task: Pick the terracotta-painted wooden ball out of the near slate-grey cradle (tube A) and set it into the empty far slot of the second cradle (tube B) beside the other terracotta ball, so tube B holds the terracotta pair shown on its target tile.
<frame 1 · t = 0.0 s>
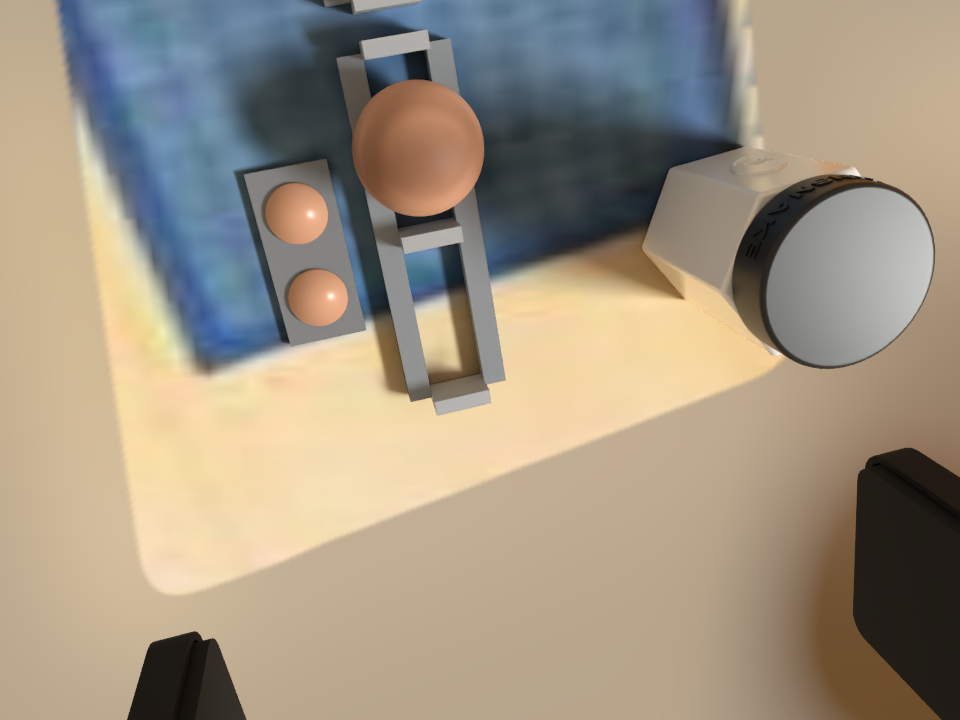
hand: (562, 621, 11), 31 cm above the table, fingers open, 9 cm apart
terracotta ball b: (411, 143, 38), point 1 cm above the table, touching tube stand
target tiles: (255, 45, 35), on the table
tube stand: (387, 23, 36), on the table
jar: (713, 225, 43), on the table
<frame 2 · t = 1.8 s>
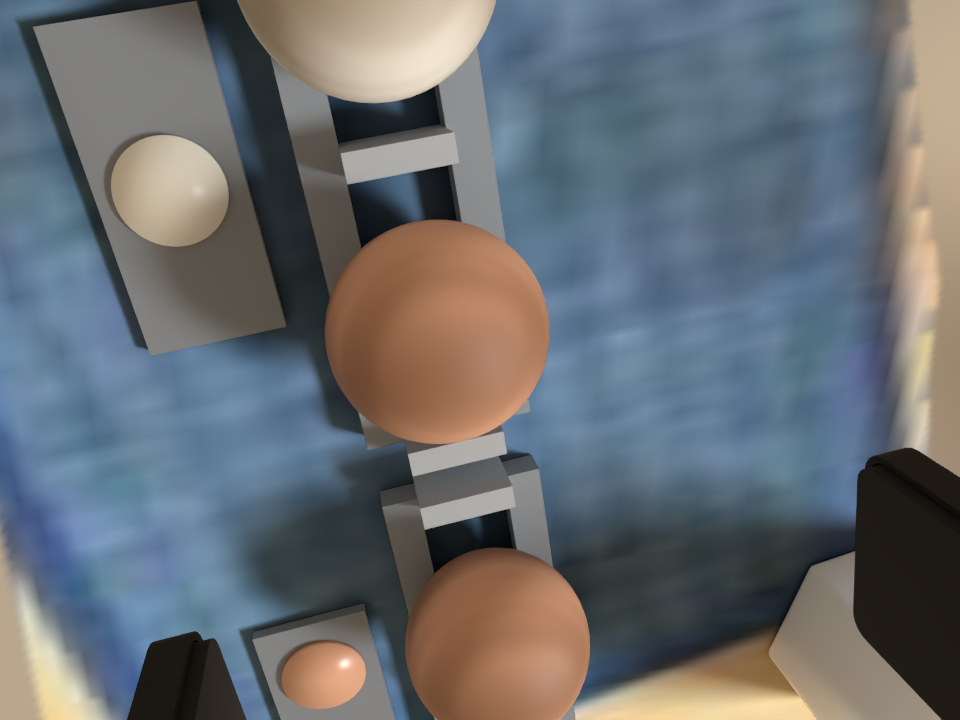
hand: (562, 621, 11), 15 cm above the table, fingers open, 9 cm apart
terracotta ball a: (423, 299, 23), point 1 cm above the table, touching tube stand
terracotta ball b: (479, 583, 28), point 1 cm above the table, touching tube stand
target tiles: (268, 489, 25), on the table
tube stand: (450, 445, 26), on the table
jar: (857, 614, 34), on the table
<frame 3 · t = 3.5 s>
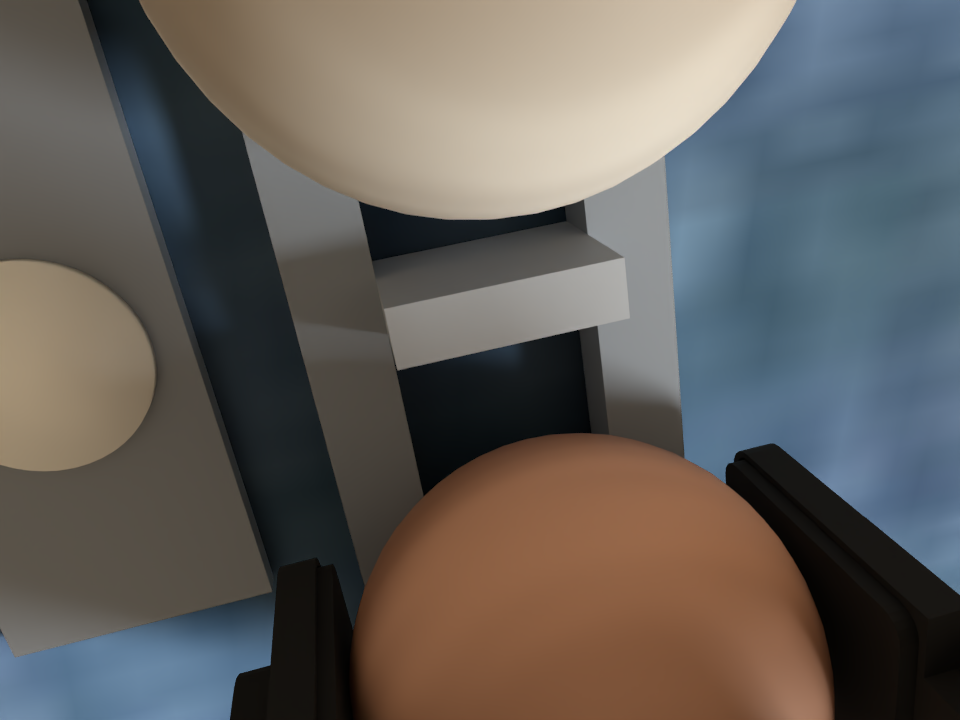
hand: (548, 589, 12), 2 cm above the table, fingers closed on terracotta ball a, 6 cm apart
terracotta ball a: (524, 534, 13), point 1 cm above the table, touching gripper, tube stand
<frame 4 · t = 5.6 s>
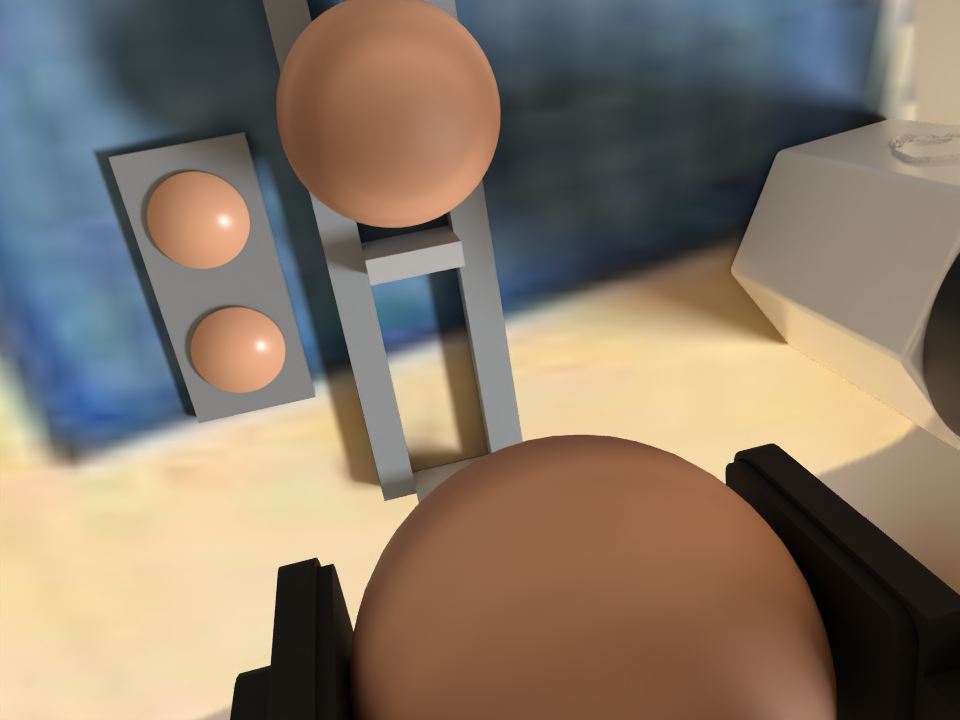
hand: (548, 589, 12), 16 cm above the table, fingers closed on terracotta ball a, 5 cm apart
terracotta ball a: (525, 536, 13), point 15 cm above the table, touching gripper
terracotta ball b: (381, 108, 24), point 1 cm above the table, touching tube stand
jar: (834, 236, 29), on the table
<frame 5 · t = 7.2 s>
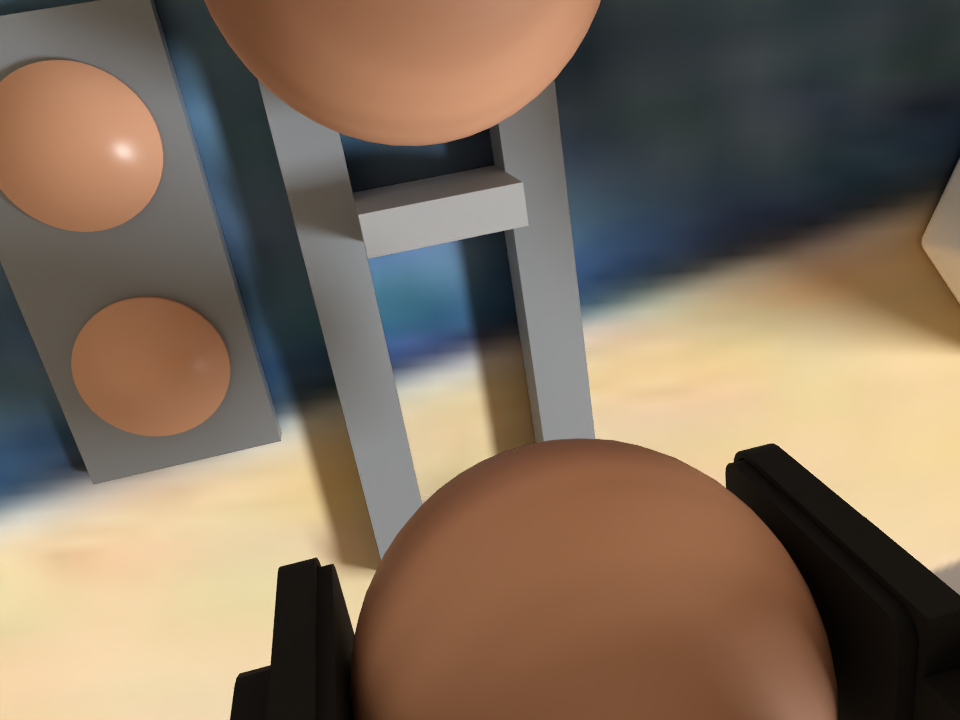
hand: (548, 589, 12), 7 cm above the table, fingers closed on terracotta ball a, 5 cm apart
terracotta ball a: (526, 539, 13), point 6 cm above the table, touching gripper
when the fingers open (3 cm above the table, at t = 8.2 s): terracotta ball a drops 1 cm, resting on tube stand.
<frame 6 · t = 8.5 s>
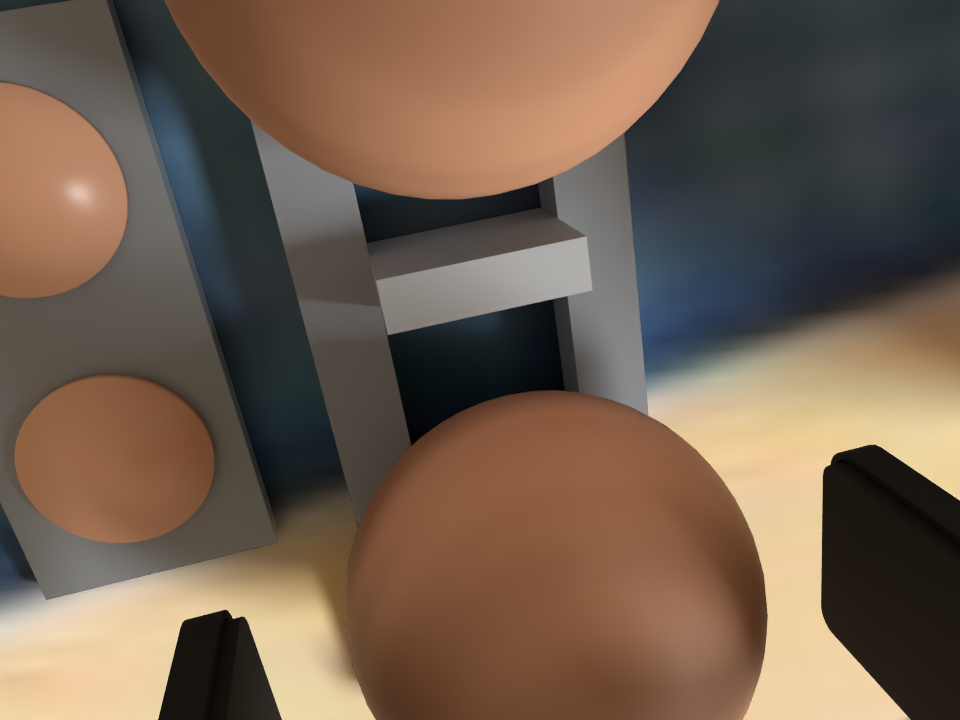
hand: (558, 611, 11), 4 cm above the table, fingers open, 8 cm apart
terracotta ball a: (506, 489, 14), point 1 cm above the table, touching tube stand
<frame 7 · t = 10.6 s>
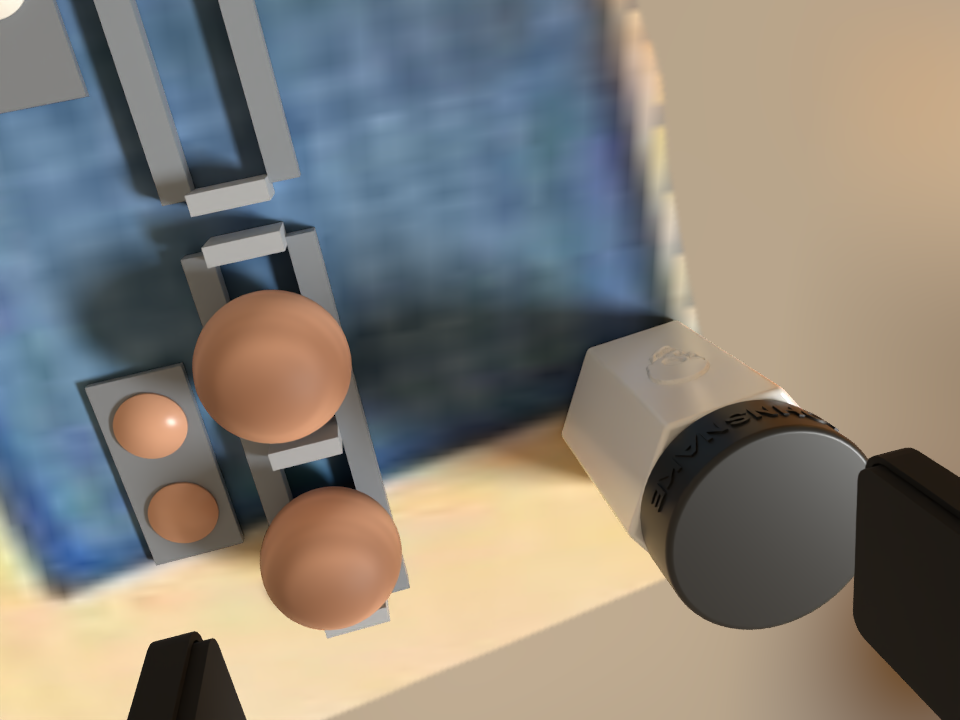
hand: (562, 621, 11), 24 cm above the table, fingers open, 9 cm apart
terracotta ball a: (332, 520, 36), point 1 cm above the table, touching tube stand
terracotta ball b: (279, 343, 33), point 1 cm above the table, touching tube stand
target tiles: (88, 248, 31), on the table
tube stand: (242, 215, 32), on the table
jar: (644, 403, 38), on the table
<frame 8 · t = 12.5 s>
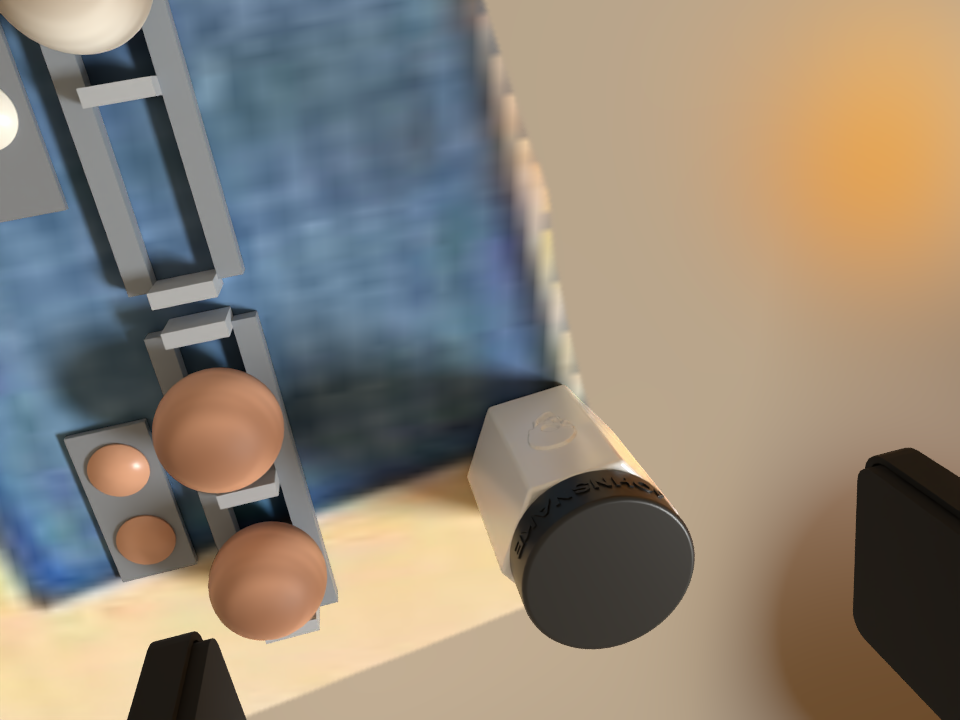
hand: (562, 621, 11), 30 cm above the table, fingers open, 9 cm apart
terracotta ball a: (272, 546, 43), point 1 cm above the table, touching tube stand
terracotta ball b: (226, 404, 40), point 1 cm above the table, touching tube stand
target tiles: (67, 328, 37), on the table
tube stand: (196, 301, 38), on the table
jar: (538, 450, 45), on the table
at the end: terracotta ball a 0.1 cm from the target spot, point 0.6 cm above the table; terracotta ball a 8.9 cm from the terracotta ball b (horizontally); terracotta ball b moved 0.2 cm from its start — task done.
